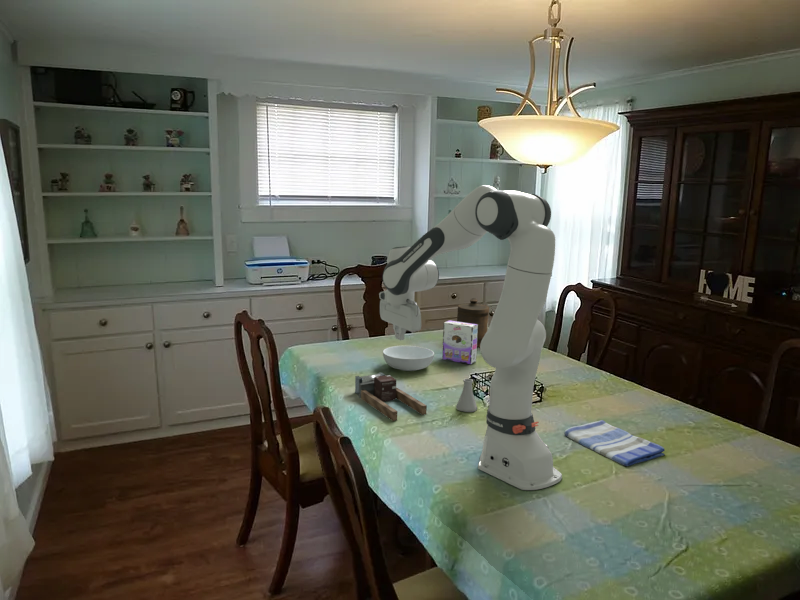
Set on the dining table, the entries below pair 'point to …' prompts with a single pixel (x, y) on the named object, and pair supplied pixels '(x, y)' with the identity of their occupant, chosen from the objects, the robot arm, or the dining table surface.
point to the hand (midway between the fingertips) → (399, 339)
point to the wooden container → (474, 317)
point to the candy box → (460, 342)
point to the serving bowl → (408, 357)
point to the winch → (365, 380)
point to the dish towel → (614, 443)
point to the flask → (467, 398)
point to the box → (385, 388)
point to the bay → (368, 396)
